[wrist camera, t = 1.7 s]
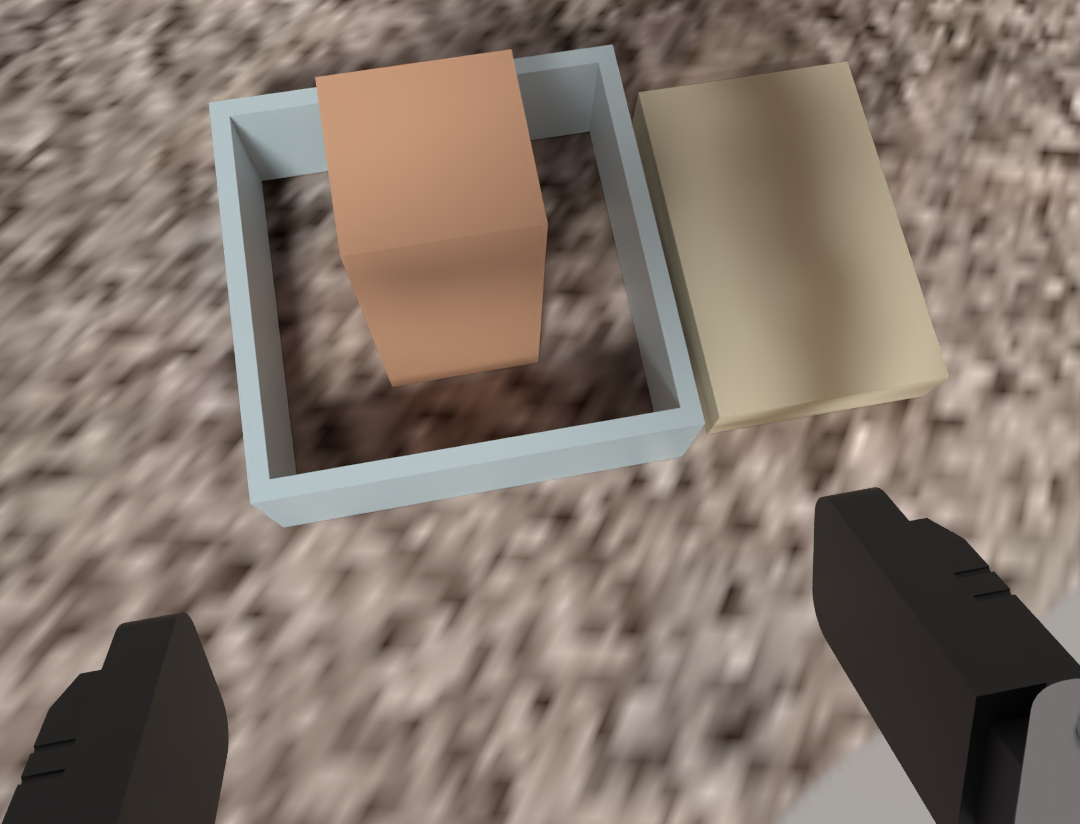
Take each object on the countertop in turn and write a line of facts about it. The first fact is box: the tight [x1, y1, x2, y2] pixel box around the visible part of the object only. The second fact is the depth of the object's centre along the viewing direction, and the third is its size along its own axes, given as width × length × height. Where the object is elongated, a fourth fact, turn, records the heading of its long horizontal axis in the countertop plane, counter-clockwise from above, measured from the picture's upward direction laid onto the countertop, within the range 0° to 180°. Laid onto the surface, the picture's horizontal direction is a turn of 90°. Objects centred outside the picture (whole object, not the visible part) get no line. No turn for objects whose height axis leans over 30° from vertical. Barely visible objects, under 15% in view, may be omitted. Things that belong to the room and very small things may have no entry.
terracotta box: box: [315, 49, 548, 387], centre depth 28 cm, size 5×5×10 cm
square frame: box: [209, 44, 705, 527], centre depth 31 cm, size 13×13×4 cm
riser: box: [632, 61, 949, 434], centre depth 33 cm, size 8×12×2 cm, turn 11°
